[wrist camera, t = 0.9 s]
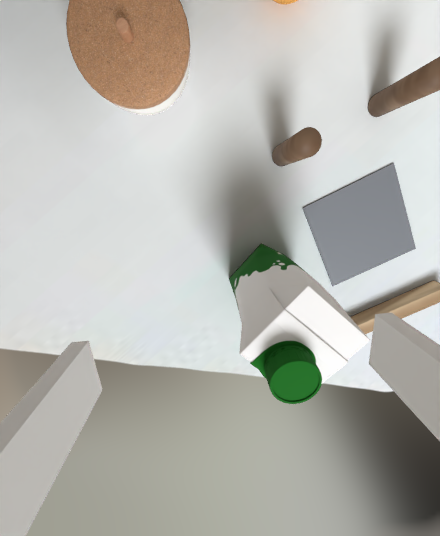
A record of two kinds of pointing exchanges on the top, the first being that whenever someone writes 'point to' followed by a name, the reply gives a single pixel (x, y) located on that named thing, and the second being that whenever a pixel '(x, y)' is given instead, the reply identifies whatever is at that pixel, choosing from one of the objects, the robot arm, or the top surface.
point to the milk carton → (291, 325)
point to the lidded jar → (131, 51)
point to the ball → (285, 1)
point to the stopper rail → (400, 305)
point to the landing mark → (361, 225)
